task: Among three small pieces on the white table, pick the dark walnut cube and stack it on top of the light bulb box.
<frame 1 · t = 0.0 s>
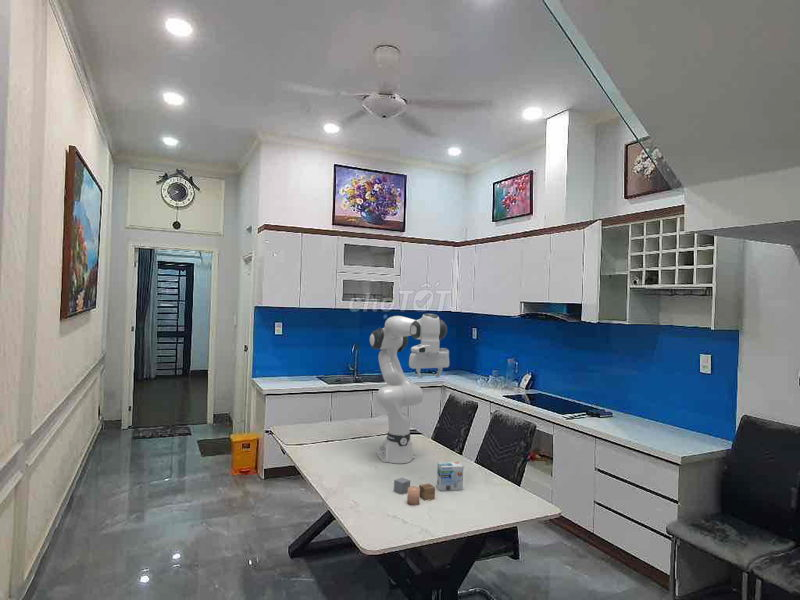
hand: (429, 377, 238), 48 cm above the table, fingers open, 8 cm apart
walnut cube: (426, 497, 217), on the table
light bulb box: (449, 488, 228), on the table
terracotta cylinder: (413, 502, 210), on the table
slate cube: (401, 491, 223), on the table
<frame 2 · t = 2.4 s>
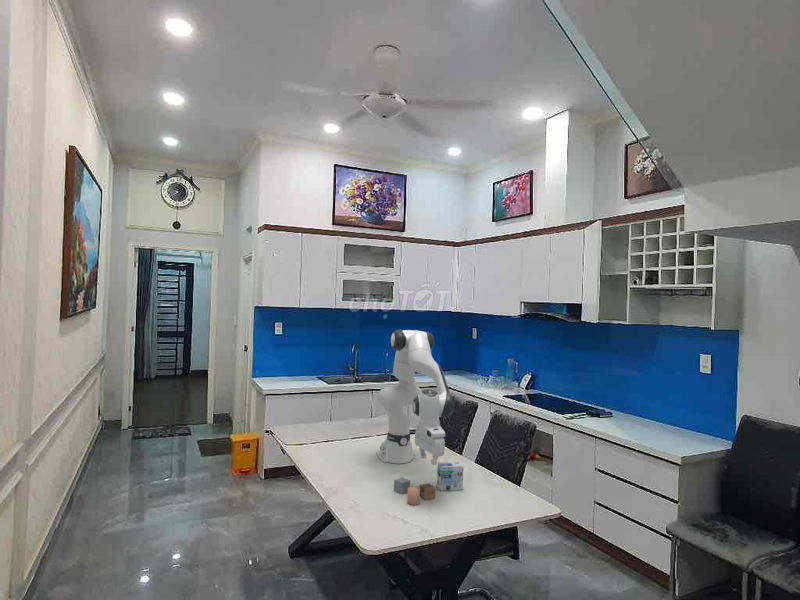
hand: (428, 461, 216), 16 cm above the table, fingers open, 8 cm apart
nothing on the table moved.
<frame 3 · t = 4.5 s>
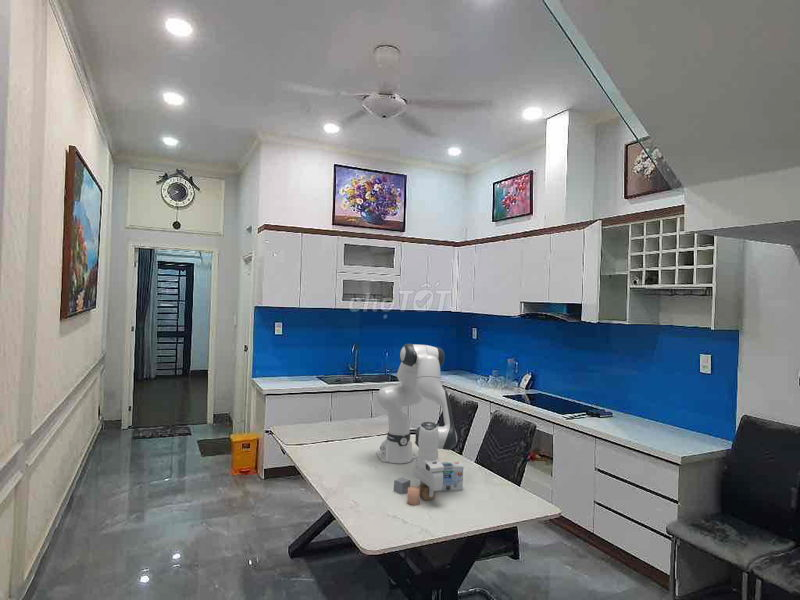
hand: (426, 493, 217), 2 cm above the table, fingers closed on walnut cube, 5 cm apart
walnut cube: (426, 497, 217), on the table, touching gripper
everything else where it was.
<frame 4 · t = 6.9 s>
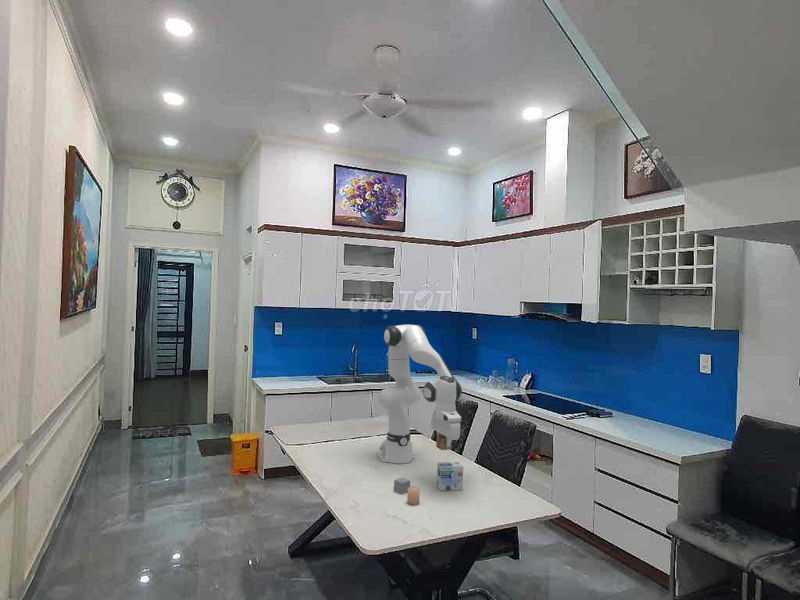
hand: (444, 444, 225), 20 cm above the table, fingers closed on walnut cube, 5 cm apart
walnut cube: (444, 448, 225), point 19 cm above the table, touching gripper
everything else where it was.
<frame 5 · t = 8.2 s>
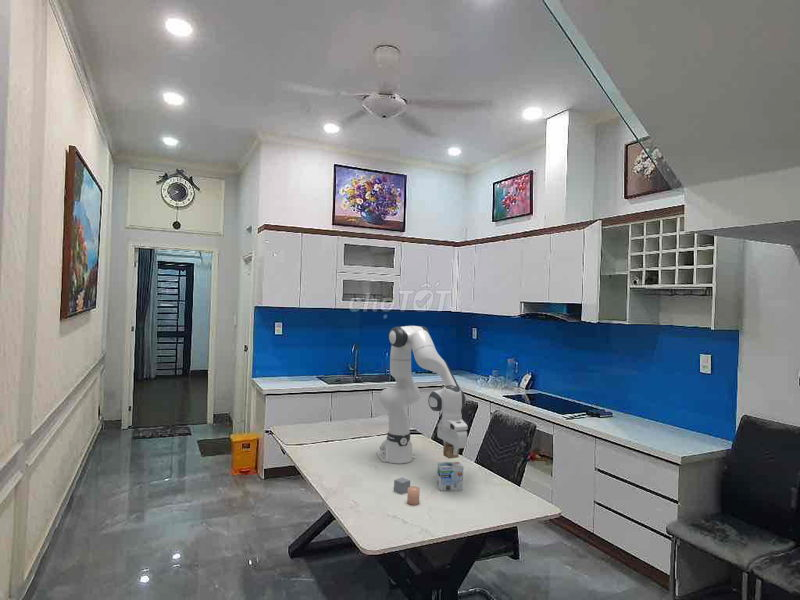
hand: (450, 452, 228), 16 cm above the table, fingers closed on walnut cube, 5 cm apart
walnut cube: (450, 456, 228), point 14 cm above the table, touching gripper
everything else where it was.
when the fingers open (14 cm above the table, at t = 9.4 s): walnut cube drops 1 cm, resting on light bulb box.
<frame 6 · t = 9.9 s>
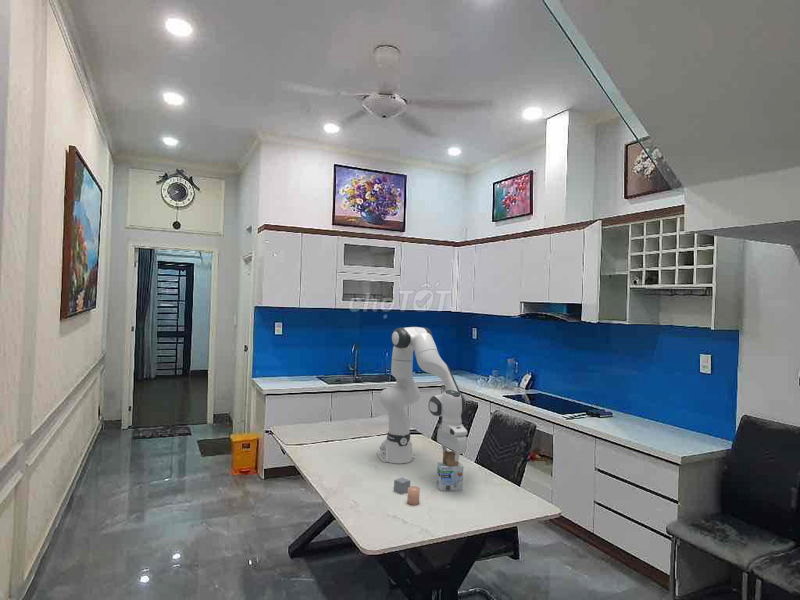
hand: (450, 457, 228), 14 cm above the table, fingers open, 8 cm apart
walnut cube: (450, 464, 228), point 11 cm above the table, touching light bulb box
light bulb box: (449, 488, 228), on the table, touching walnut cube
everything else where it was.
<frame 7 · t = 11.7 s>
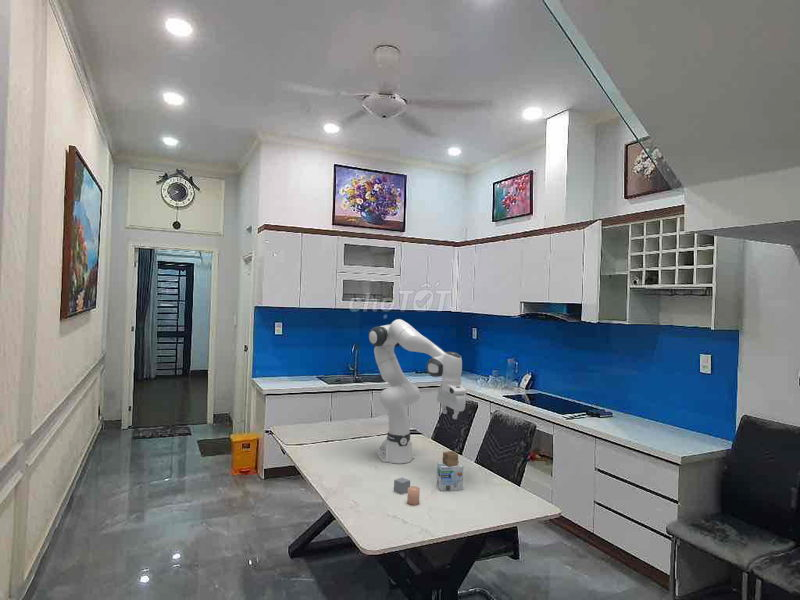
hand: (449, 416, 238), 30 cm above the table, fingers open, 8 cm apart
nothing on the table moved.
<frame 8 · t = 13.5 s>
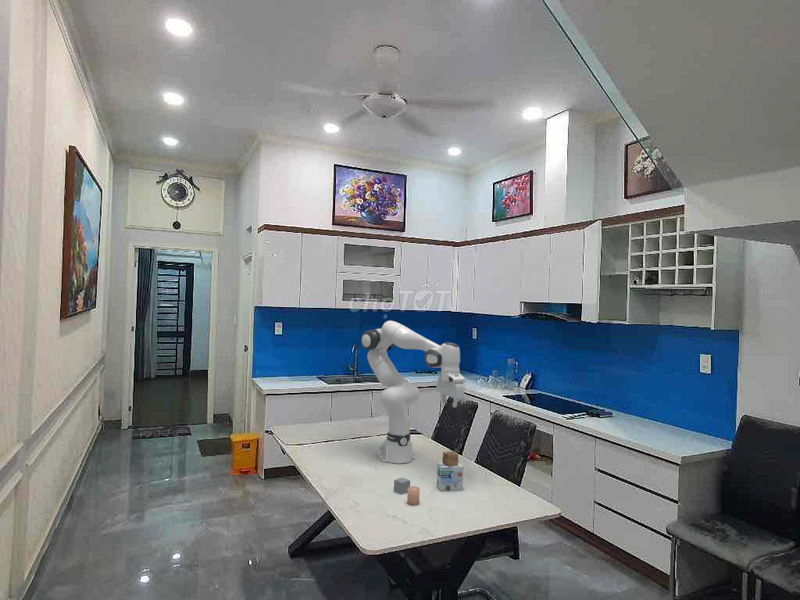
hand: (449, 405, 244), 34 cm above the table, fingers open, 8 cm apart
nothing on the table moved.
at the end: walnut cube inside the target area on the light bulb box (0.1 cm from its centre), point 11.0 cm above the light bulb box's base; walnut cube tilted 0°; the gripper is holding nothing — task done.
